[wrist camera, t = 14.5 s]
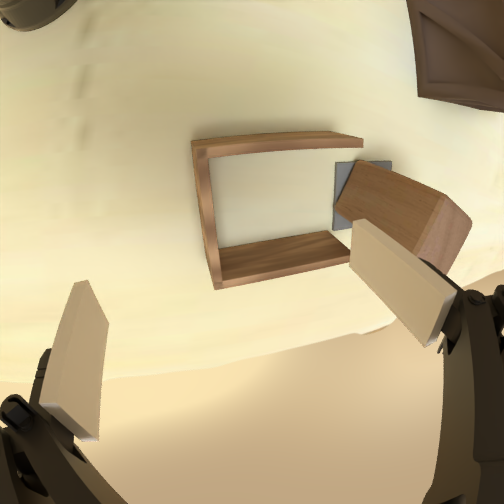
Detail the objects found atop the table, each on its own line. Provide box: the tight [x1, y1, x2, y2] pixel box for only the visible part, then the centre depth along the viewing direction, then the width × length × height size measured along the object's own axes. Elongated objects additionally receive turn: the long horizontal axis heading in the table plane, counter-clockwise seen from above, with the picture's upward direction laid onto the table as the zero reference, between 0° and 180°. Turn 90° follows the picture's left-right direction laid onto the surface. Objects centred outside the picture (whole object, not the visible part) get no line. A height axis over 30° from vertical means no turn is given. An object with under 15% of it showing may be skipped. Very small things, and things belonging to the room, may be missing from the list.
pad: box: [332, 161, 392, 231], centre depth 48 cm, size 12×12×1 cm
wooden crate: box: [406, 0, 504, 113], centre depth 27 cm, size 25×25×25 cm
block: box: [335, 160, 472, 275], centre depth 39 cm, size 10×10×20 cm
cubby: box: [191, 131, 363, 290], centre depth 40 cm, size 18×21×9 cm
